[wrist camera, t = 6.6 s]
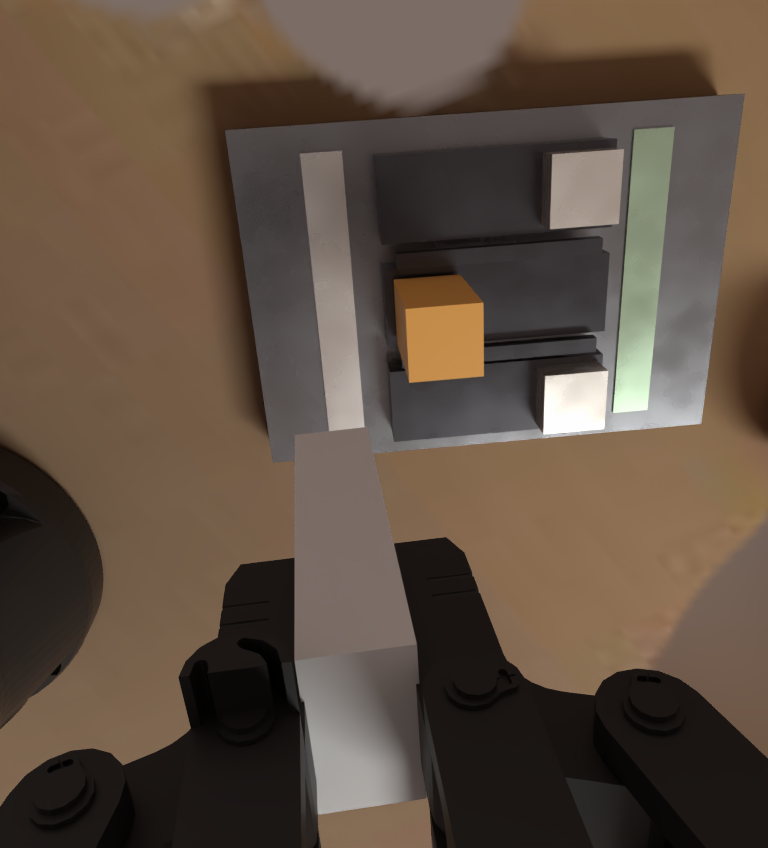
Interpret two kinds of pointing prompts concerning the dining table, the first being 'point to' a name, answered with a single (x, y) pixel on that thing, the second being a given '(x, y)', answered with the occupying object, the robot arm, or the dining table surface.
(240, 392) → the dining table surface
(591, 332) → the panel
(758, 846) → the robot arm
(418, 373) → the block
